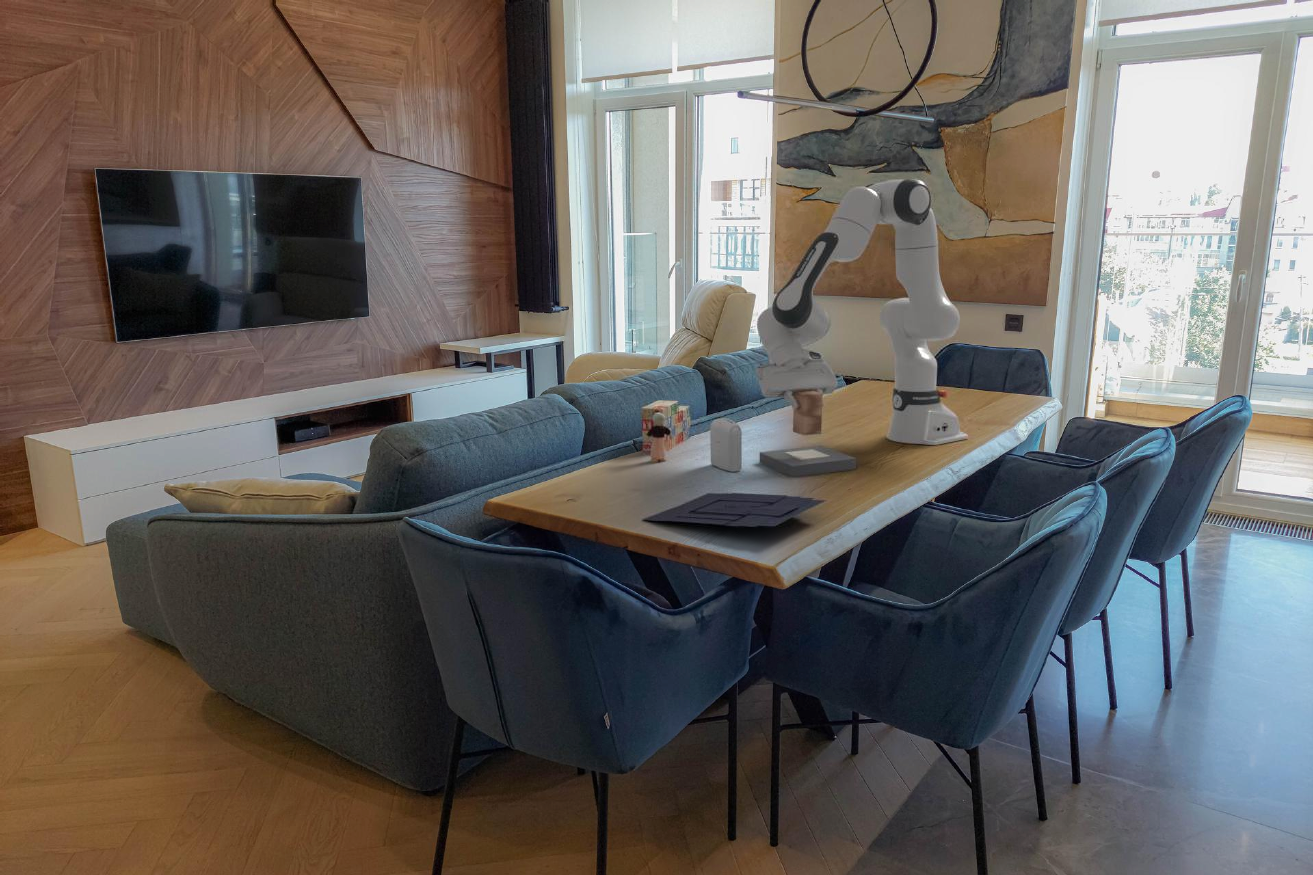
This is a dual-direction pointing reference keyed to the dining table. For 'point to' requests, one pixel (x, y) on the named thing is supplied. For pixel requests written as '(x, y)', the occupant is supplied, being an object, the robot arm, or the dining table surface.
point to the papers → (738, 509)
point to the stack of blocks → (666, 422)
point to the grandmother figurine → (658, 438)
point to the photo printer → (726, 445)
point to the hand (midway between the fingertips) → (809, 407)
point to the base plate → (807, 461)
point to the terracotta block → (808, 413)
